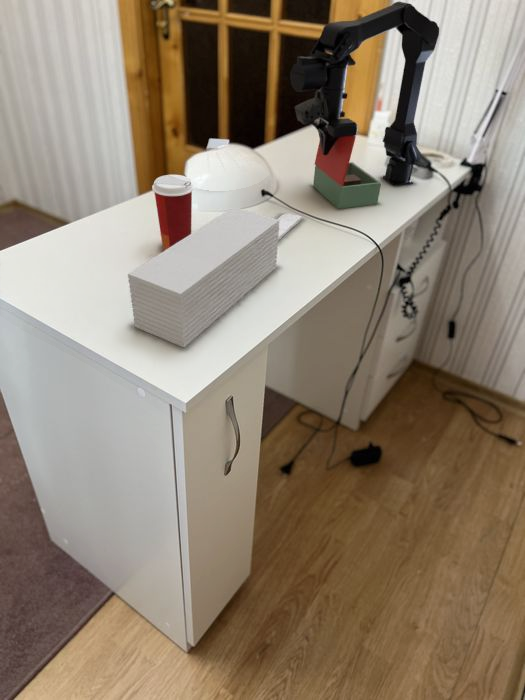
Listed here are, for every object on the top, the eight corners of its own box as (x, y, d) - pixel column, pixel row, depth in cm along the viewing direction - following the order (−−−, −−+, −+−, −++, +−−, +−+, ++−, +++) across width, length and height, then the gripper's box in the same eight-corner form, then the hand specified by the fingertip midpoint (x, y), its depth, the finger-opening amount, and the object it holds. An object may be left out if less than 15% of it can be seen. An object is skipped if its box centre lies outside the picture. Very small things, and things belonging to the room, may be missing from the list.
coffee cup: (202, 243, 118) (199, 177, 108) (185, 260, 112) (182, 191, 102) (168, 236, 120) (163, 170, 110) (150, 252, 114) (143, 184, 104)
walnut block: (352, 188, 144) (354, 174, 142) (359, 194, 141) (361, 179, 139) (335, 190, 143) (337, 176, 140) (342, 196, 140) (344, 181, 137)
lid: (326, 117, 135) (324, 117, 135) (356, 136, 124) (353, 136, 124) (316, 164, 142) (314, 164, 142) (343, 186, 131) (341, 186, 131)
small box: (227, 188, 142) (227, 148, 136) (206, 187, 142) (205, 147, 136) (229, 177, 148) (230, 138, 142) (209, 176, 148) (209, 137, 142)
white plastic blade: (254, 239, 120) (254, 234, 120) (283, 215, 131) (283, 211, 130) (274, 244, 118) (274, 239, 118) (301, 220, 129) (302, 215, 128)
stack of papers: (233, 253, 115) (233, 206, 108) (276, 267, 111) (279, 220, 104) (134, 326, 93) (127, 273, 86) (184, 347, 89) (180, 293, 82)
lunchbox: (349, 182, 150) (352, 162, 146) (377, 204, 139) (381, 182, 135) (312, 186, 146) (315, 165, 143) (338, 209, 135) (341, 187, 132)
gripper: (284, 79, 127) (281, 145, 137) (318, 99, 114) (311, 171, 124) (326, 77, 131) (319, 141, 141) (363, 96, 117) (353, 166, 127)
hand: (324, 154), depth 133 cm, fingers closed, pressing on lid
